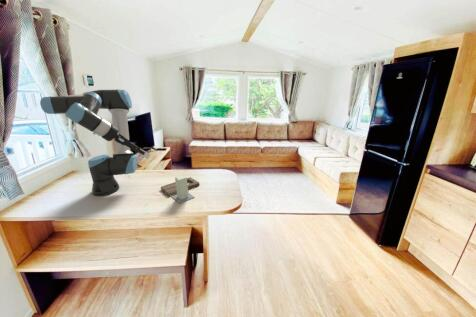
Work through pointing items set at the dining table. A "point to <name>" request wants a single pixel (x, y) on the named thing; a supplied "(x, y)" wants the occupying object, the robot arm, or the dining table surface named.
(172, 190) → the puzzle board
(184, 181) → the puzzle block
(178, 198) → the mat
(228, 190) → the dining table surface
